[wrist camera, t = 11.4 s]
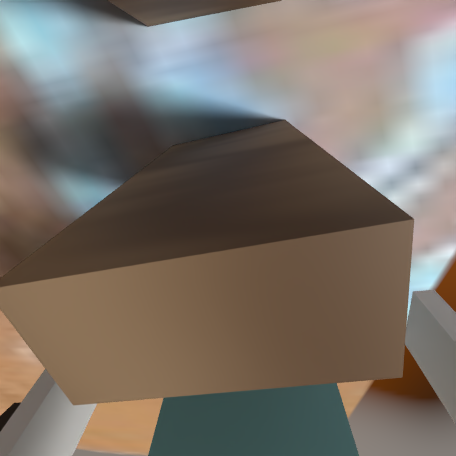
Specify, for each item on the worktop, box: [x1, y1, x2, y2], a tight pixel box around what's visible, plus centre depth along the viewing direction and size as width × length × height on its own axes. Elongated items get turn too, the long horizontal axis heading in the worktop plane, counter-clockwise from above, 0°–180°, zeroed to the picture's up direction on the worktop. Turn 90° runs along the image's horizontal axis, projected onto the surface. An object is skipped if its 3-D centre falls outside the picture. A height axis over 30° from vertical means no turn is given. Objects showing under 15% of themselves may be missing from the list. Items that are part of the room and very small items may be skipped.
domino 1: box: [0, 120, 414, 405], centre depth 8 cm, size 5×2×10 cm, turn 103°
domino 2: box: [148, 383, 359, 456], centre depth 11 cm, size 5×2×10 cm, turn 98°
